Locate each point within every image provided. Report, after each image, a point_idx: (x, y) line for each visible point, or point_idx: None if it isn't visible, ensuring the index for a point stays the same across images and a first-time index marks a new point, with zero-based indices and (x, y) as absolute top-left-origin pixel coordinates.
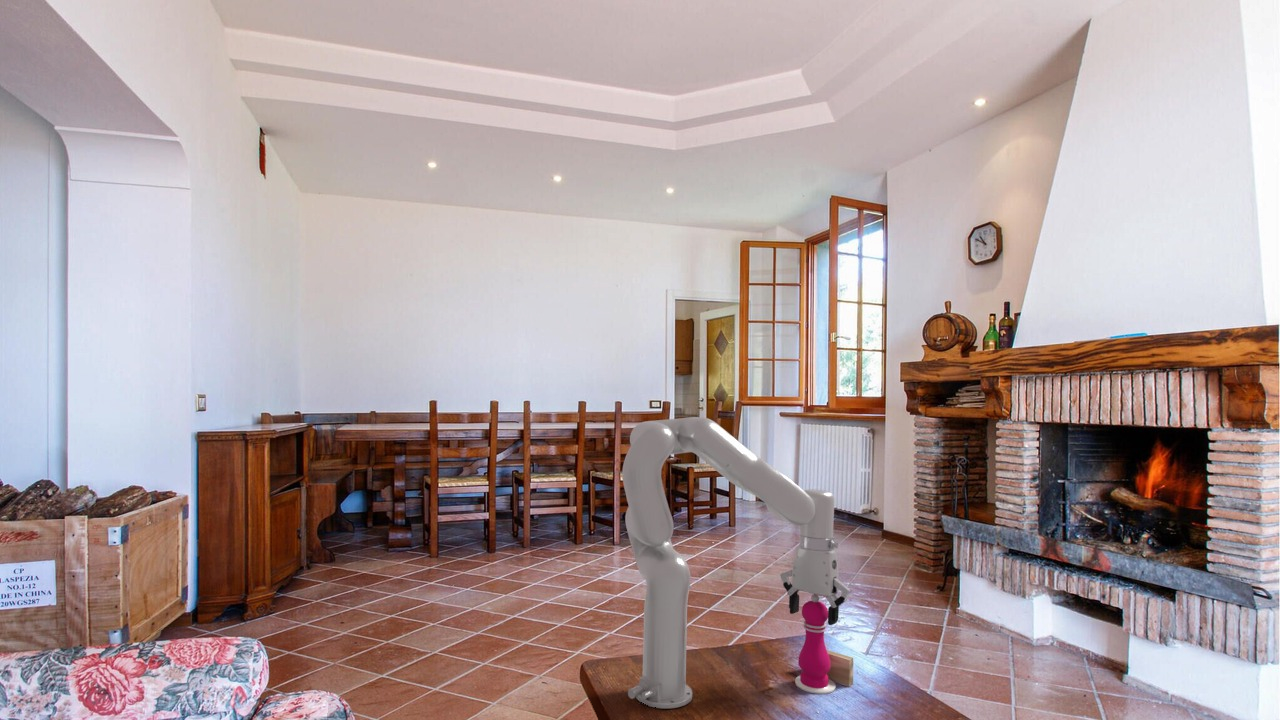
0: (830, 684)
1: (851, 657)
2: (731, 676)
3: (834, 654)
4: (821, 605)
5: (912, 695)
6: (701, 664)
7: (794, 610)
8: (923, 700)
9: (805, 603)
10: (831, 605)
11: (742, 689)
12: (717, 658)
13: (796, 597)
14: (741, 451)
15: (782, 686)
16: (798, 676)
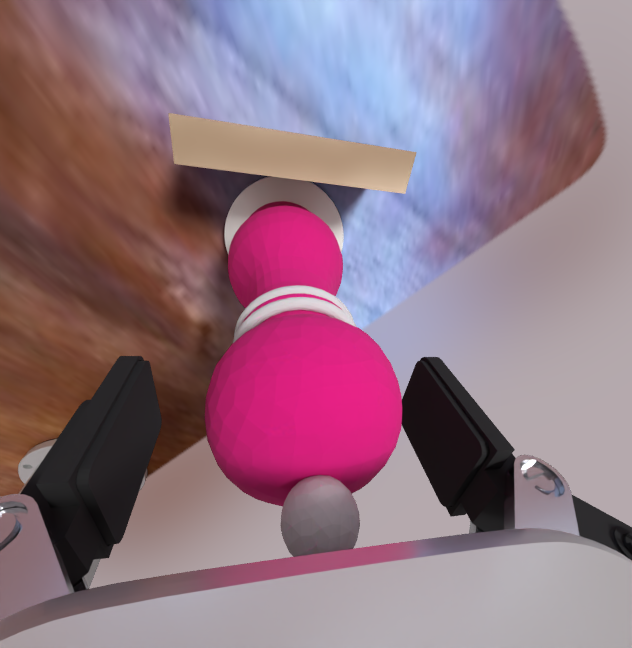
0: (327, 224)
1: (409, 154)
2: (85, 336)
3: (336, 170)
4: (375, 473)
5: (559, 100)
6: None
7: (153, 422)
8: (584, 120)
9: (240, 489)
10: (475, 525)
11: (164, 371)
12: None
13: (109, 506)
14: None
15: (220, 302)
16: (225, 232)
